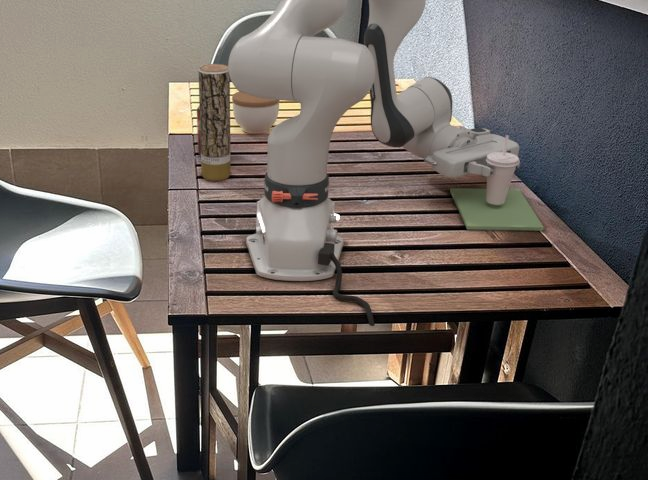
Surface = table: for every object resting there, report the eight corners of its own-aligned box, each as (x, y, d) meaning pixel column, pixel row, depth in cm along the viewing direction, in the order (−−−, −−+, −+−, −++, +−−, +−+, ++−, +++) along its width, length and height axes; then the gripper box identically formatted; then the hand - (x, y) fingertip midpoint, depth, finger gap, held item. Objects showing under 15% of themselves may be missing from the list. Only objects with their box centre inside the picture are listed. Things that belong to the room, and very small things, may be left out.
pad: (543, 230, 161) (544, 227, 161) (466, 229, 162) (467, 225, 162) (519, 192, 178) (519, 189, 178) (449, 191, 179) (450, 188, 179)
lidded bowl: (254, 140, 210) (254, 97, 205) (222, 129, 218) (222, 88, 213) (288, 129, 217) (290, 88, 212) (256, 119, 226) (257, 79, 220)
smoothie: (515, 199, 170) (527, 134, 163) (506, 209, 166) (518, 143, 158) (484, 193, 173) (495, 129, 166) (475, 203, 169) (485, 138, 161)
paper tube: (227, 183, 185) (226, 72, 172) (198, 181, 186) (195, 71, 173) (233, 172, 191) (232, 64, 178) (205, 170, 192) (202, 63, 179)
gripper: (420, 143, 169) (470, 163, 159) (490, 126, 178) (541, 144, 168) (417, 172, 172) (465, 193, 162) (486, 154, 181) (535, 173, 171)
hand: (504, 168), depth 165 cm, fingers closed on smoothie, 6 cm apart
